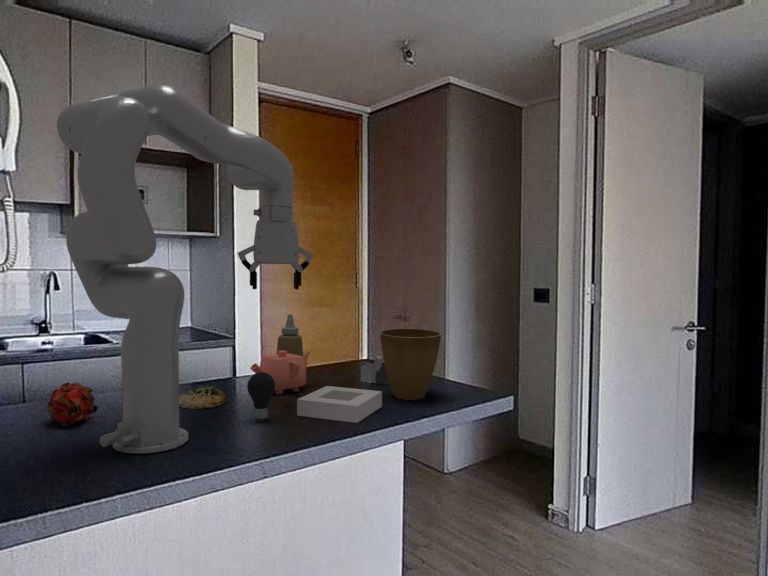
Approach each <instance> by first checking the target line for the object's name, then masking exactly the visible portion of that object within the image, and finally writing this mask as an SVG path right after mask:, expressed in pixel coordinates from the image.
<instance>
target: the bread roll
mask: <svg viewBox="0 0 768 576" xmlns="http://www.w3.org/2000/svg"><path fill="white" fill-rule="evenodd" d="M226 402H227V398H226V394H225V392H224V391H222V390H221V389H218V386H216V385H213V386H209V385H206V386H204V385H200V386H199V387H196V388H190V389H188V391H187V392H183V393H181V394H179V407H181V408H180V409H184V408H186V409H185V410H202V409H214V408H215V409H216V408H219V407H221V406H223V405H224V404H225V403H226Z"/></svg>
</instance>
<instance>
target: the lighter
mask: <svg viewBox="0 0 768 576" xmlns="http://www.w3.org/2000/svg"><path fill="white" fill-rule="evenodd" d="M383 363H384V358H383V355H381V354H380V355H376V357H375V359H374V362H373V364H372V363H364V366H363V365H362V366H360V382H361V381H362V382H367V383H375V384H376V373H377V372H379V371H380V370H381V367H382V365H383Z"/></svg>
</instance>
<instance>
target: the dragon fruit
mask: <svg viewBox="0 0 768 576" xmlns="http://www.w3.org/2000/svg"><path fill="white" fill-rule="evenodd" d="M92 392H93V388H92V387H90V386H86V385H85V386H84V385H83V384H82V383H80V382H72V383H70V382H65V383H61V386H60V387H59V389H57V388H55V389H54V390H53V391H52V392H51V393H50V394H49V396H48V398H49V401H48V403H47V406H46V408H47V412H49V413H50V417H51V420H52V421H57V422H58V423H59V424H60V425H61V426H64V427H70V426H72V425H73V424H74V423H75V422H78V421H80V422H82V421H81V420H84V421H86V420H87V419H88V418H89V417H90V416H91V414H94V413H97V411H98V410H99V407H100V406H99V405H98V404H97V405H95V402H94V401H95V400H96V398H95V396H94V395H93V394H92ZM72 423H73V424H72ZM71 424H72V425H71Z"/></svg>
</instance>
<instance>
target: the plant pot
mask: <svg viewBox="0 0 768 576" xmlns="http://www.w3.org/2000/svg"><path fill="white" fill-rule="evenodd" d="M379 336H380V344H381V351H382V357H383V358H384V360H383V363H384V367H385V370H386V374H387V375H386V376H387V379H388V382H389V384H390V388H391V391H392V394H393V396H395V397H396V399H397V398H398V399H397V400H400V399H403V400H402V401H408V400H413V401H418V400H417V399H421V400H423V399H424V398H425V396H426V395H427V392H428V390H429V387H430V384H431V381H432V378H433V375H434V371H435V367H436V364H437V359H438V354H439V352H440V351H439V350H440V344H441V339H442V332H440V331H436V330H431V329H422V328H388V329H384V330H381V331H380V332H379ZM395 397H394V398H395ZM422 398H423V399H422Z"/></svg>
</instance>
